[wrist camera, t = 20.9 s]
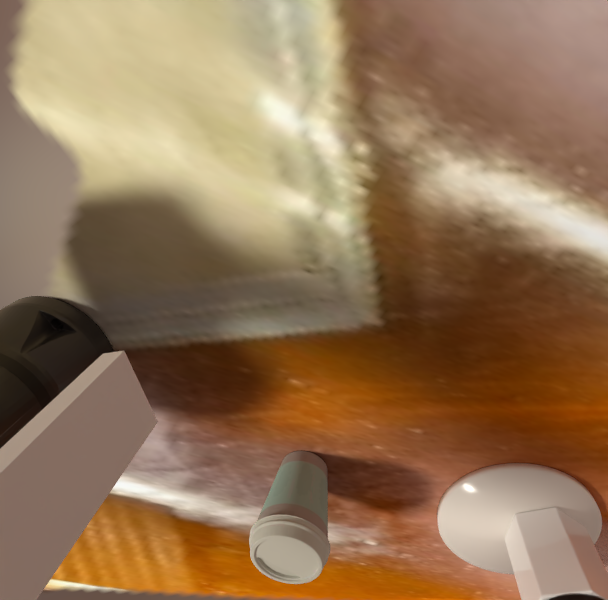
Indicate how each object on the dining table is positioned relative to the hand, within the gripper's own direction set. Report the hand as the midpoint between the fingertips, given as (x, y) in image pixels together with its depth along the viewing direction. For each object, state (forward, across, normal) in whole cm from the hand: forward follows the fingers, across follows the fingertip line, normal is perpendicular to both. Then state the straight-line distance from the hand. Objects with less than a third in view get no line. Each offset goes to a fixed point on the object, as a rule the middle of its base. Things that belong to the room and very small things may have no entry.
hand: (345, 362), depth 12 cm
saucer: (+29, +10, -43) cm, 53 cm away
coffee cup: (+29, -14, -33) cm, 46 cm away
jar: (+28, +13, -44) cm, 54 cm away
